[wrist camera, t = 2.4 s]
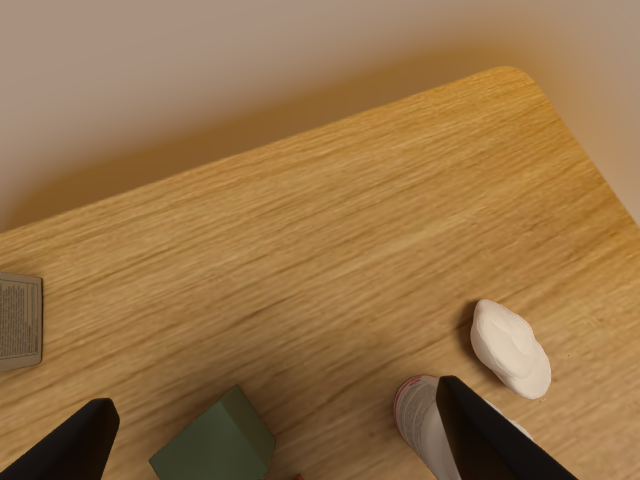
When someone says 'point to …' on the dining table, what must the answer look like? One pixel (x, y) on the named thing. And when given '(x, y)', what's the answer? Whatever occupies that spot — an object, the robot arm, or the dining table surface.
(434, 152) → the dining table surface
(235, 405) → the block
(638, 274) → the dining table surface
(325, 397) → the dining table surface
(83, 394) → the dining table surface
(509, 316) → the dumpling
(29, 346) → the cosmetic box
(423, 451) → the pill bottle
